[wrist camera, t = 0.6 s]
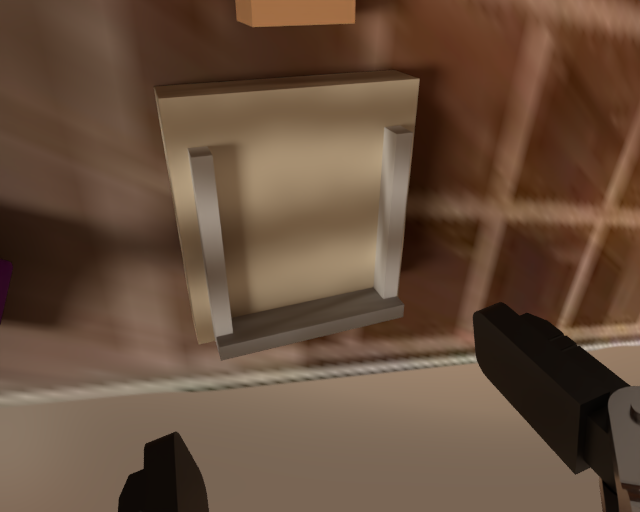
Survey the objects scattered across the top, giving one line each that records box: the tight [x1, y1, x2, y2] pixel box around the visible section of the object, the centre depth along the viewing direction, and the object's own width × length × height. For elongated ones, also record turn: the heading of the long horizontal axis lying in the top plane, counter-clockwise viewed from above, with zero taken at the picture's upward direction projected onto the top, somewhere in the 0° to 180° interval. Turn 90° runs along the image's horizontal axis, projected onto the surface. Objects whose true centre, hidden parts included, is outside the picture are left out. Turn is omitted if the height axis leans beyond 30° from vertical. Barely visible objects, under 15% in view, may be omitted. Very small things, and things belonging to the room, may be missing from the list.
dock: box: [154, 70, 420, 361], centre depth 29 cm, size 15×14×6 cm
